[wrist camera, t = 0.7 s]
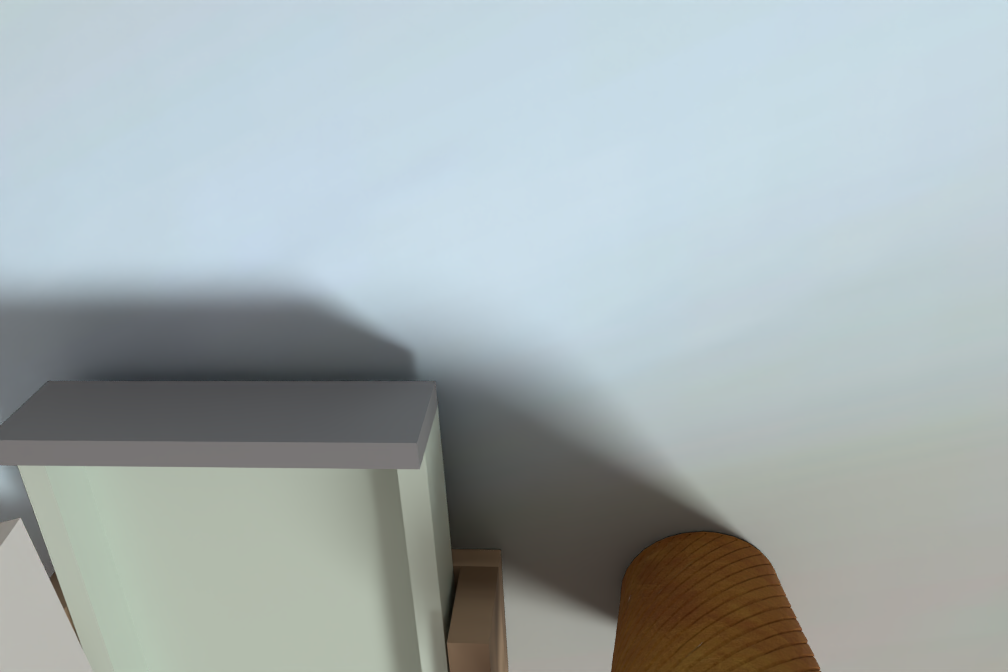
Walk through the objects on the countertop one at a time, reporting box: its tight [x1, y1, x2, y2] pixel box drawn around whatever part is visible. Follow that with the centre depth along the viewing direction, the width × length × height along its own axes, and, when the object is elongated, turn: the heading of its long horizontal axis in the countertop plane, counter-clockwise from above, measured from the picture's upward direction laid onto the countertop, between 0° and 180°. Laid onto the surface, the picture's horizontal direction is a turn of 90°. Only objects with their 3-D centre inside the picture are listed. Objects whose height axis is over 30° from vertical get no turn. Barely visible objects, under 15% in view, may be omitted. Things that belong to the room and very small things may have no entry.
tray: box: [0, 381, 456, 672], centre depth 35 cm, size 19×14×4 cm
